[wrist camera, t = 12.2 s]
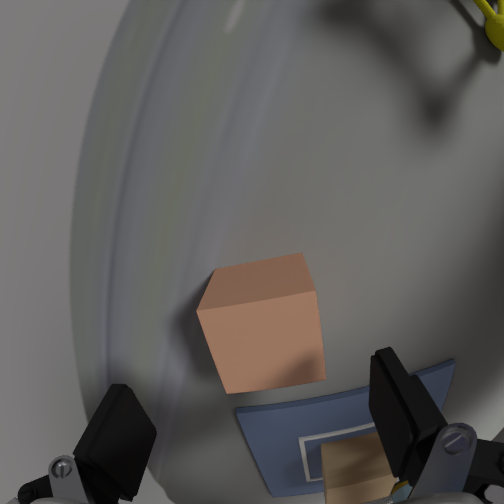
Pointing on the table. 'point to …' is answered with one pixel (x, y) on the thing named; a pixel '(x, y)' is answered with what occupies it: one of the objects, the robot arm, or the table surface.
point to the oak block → (355, 470)
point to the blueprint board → (316, 431)
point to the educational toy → (493, 22)
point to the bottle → (401, 491)
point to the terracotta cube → (263, 325)
